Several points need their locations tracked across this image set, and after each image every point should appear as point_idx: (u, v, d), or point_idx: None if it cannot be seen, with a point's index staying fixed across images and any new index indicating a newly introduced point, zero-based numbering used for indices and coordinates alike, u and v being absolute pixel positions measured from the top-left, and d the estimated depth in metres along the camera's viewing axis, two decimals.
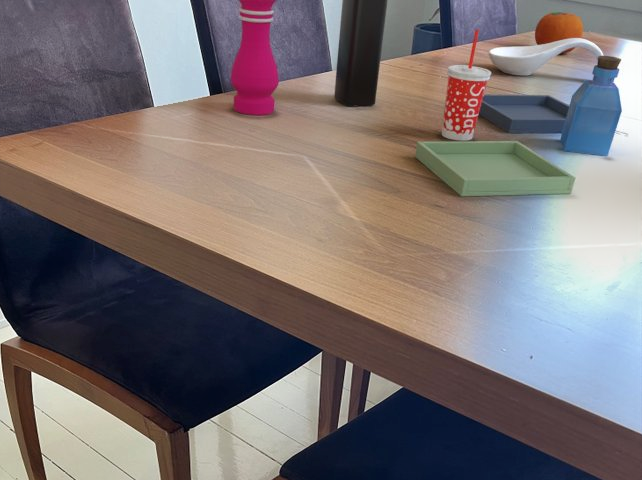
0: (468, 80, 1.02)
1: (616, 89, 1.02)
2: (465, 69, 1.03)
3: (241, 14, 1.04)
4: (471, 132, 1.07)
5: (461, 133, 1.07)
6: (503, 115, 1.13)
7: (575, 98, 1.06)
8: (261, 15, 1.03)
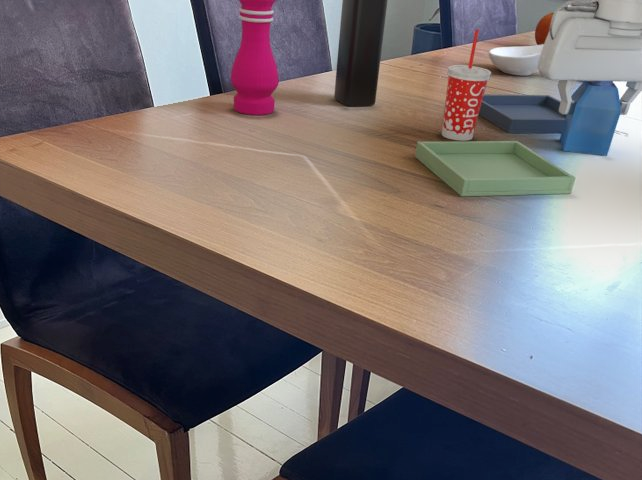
0: (468, 80, 1.02)
1: (615, 89, 1.02)
2: (465, 69, 1.03)
3: (241, 14, 1.04)
4: (471, 132, 1.07)
5: (461, 133, 1.07)
6: (503, 115, 1.13)
7: (574, 98, 1.06)
8: (262, 15, 1.03)
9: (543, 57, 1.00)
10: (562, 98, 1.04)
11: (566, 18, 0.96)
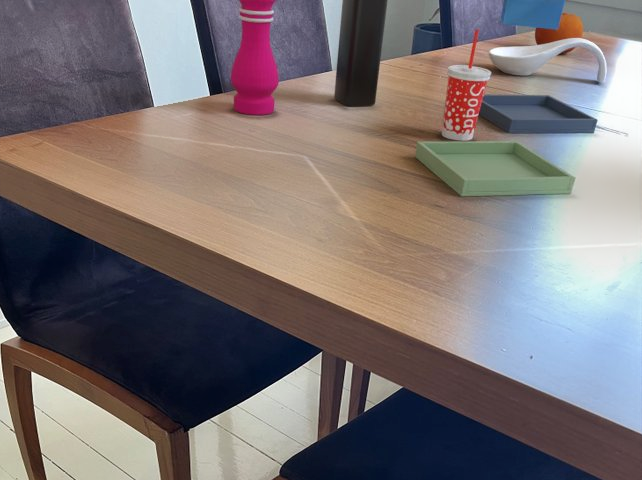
0: (468, 80, 1.02)
1: None
2: (465, 69, 1.03)
3: (241, 14, 1.04)
4: (471, 132, 1.07)
5: (461, 133, 1.07)
6: (503, 115, 1.13)
7: None
8: (262, 15, 1.03)
9: None
10: None
11: None
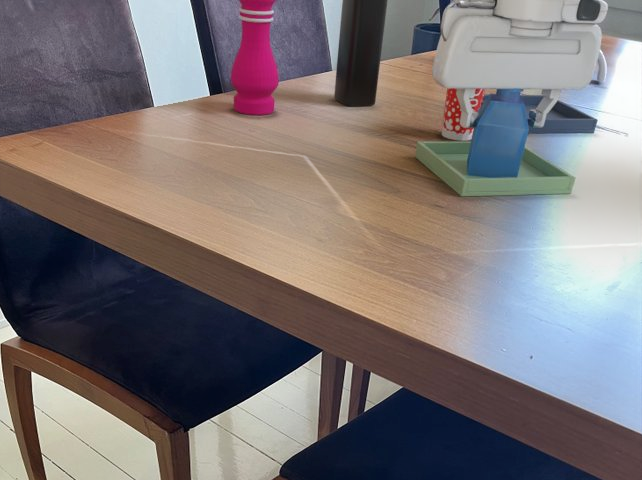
0: None
1: (522, 105, 0.88)
2: None
3: (241, 14, 1.04)
4: (471, 132, 1.07)
5: (461, 133, 1.07)
6: None
7: (478, 115, 0.92)
8: (262, 15, 1.03)
9: (436, 62, 0.86)
10: (462, 109, 0.90)
11: (459, 16, 0.82)
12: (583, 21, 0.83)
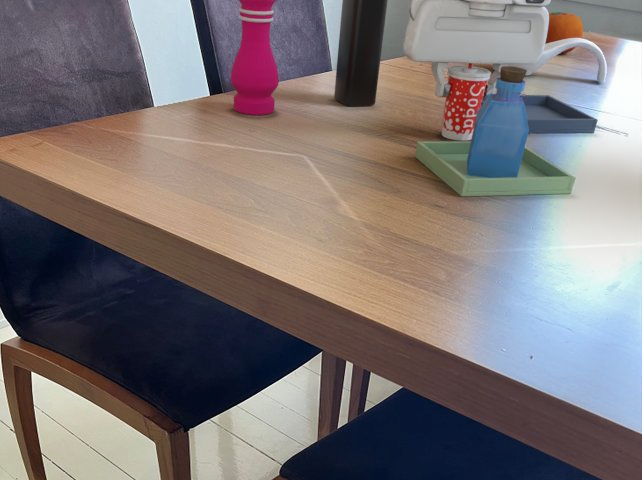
0: (468, 80, 1.02)
1: (522, 105, 0.88)
2: (465, 69, 1.03)
3: (241, 14, 1.04)
4: (471, 132, 1.07)
5: (461, 133, 1.07)
6: None
7: (478, 115, 0.92)
8: (262, 15, 1.03)
9: (406, 39, 0.99)
10: (436, 81, 1.04)
11: None
12: (532, 4, 0.97)
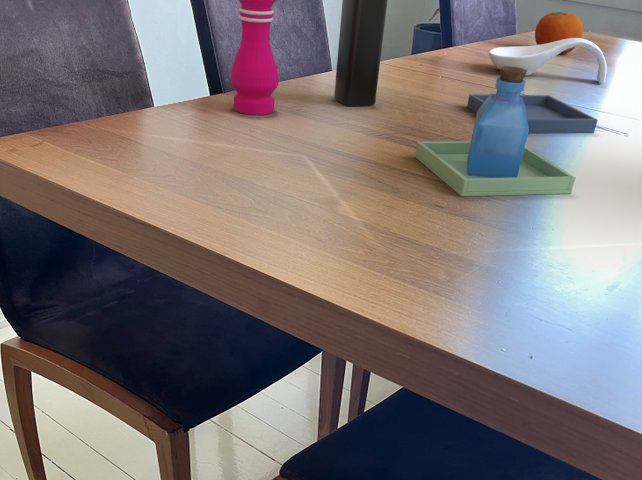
0: None
1: (522, 105, 0.88)
2: None
3: (241, 14, 1.04)
4: None
5: None
6: None
7: (478, 115, 0.92)
8: (261, 15, 1.03)
9: None
10: None
11: None
12: None
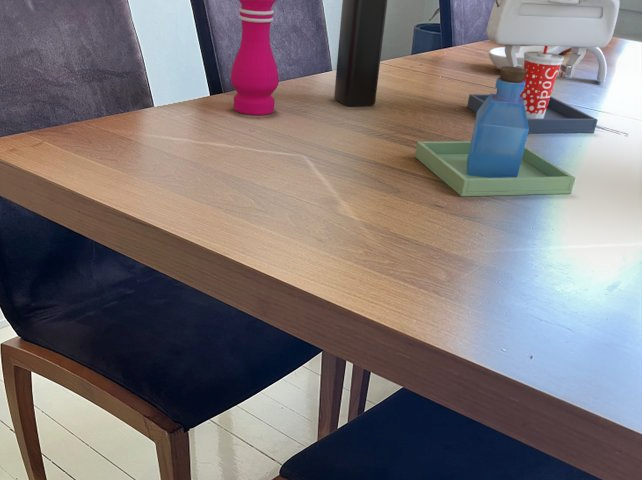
0: (544, 64, 1.12)
1: (522, 105, 0.88)
2: (540, 54, 1.13)
3: (241, 14, 1.04)
4: (543, 112, 1.18)
5: (534, 113, 1.17)
6: None
7: (478, 115, 0.92)
8: (262, 15, 1.03)
9: (490, 23, 1.10)
10: (509, 62, 1.14)
11: None
12: None
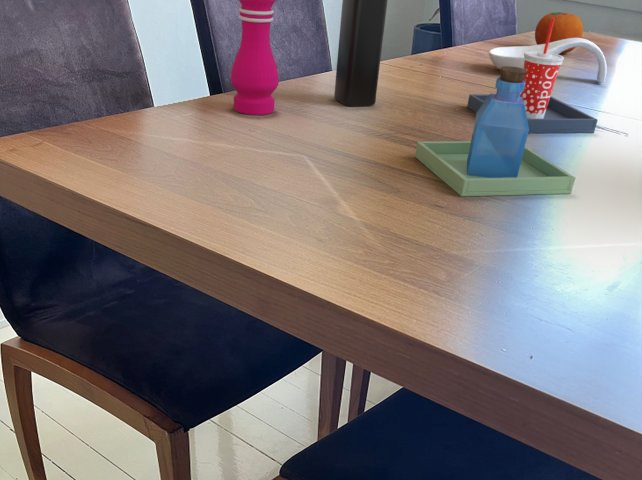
0: (544, 64, 1.12)
1: (522, 105, 0.88)
2: (540, 54, 1.13)
3: (241, 14, 1.04)
4: (543, 112, 1.18)
5: (535, 113, 1.17)
6: None
7: (478, 115, 0.92)
8: (262, 15, 1.03)
9: None
10: None
11: None
12: None
